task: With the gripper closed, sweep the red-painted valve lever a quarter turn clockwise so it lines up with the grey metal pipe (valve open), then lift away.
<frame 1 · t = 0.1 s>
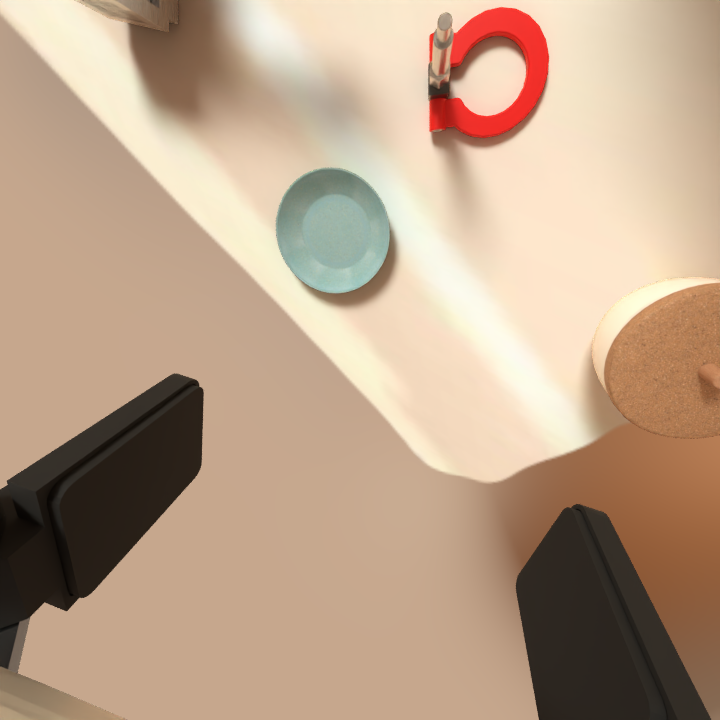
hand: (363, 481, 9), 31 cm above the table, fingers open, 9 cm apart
saucer: (337, 232, 38), on the table
lidded bowl: (644, 329, 35), on the table
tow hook: (484, 80, 30), on the table
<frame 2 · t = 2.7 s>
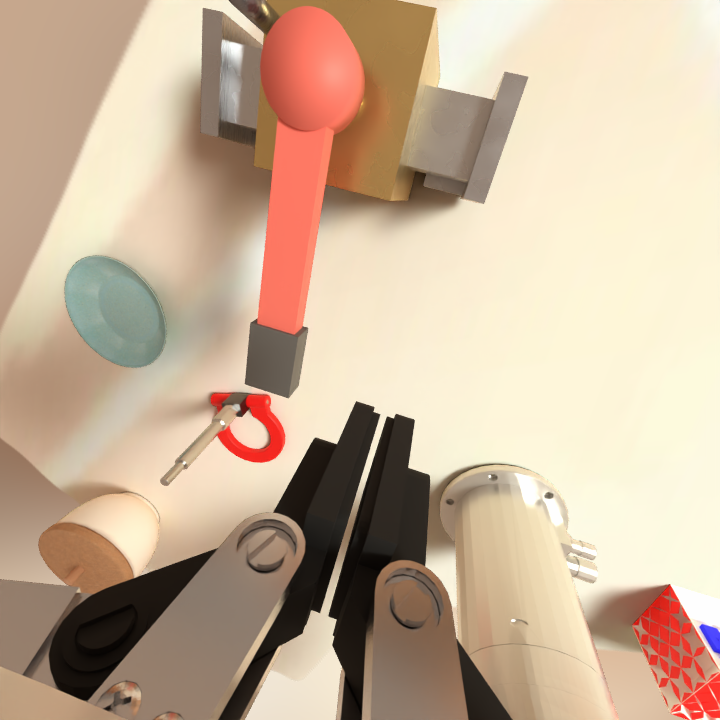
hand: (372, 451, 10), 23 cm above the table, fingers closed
white and red cube: (687, 615, 39), on the table
saucer: (132, 308, 39), on the table
lidded bowl: (139, 509, 53), on the table
lever: (293, 239, 18), point 13 cm above the table, hinge at 0.0°
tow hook: (252, 425, 42), on the table
valve body: (371, 130, 27), on the table
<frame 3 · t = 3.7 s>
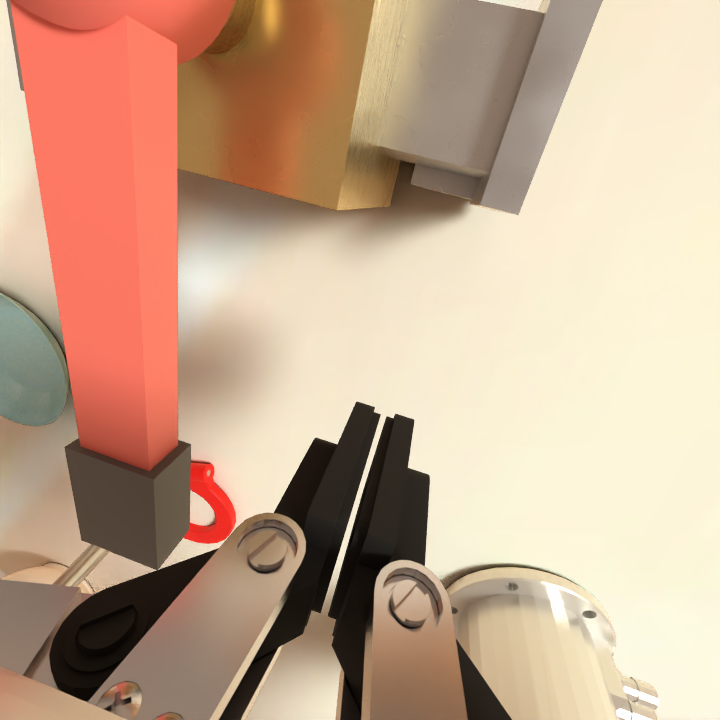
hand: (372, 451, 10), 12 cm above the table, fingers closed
saucer: (31, 348, 29), on the table
lidded bowl: (70, 582, 43), on the table
lever: (126, 291, 9), point 13 cm above the table, hinge at 0.0°
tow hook: (194, 496, 32), on the table
valve body: (331, 98, 17), on the table
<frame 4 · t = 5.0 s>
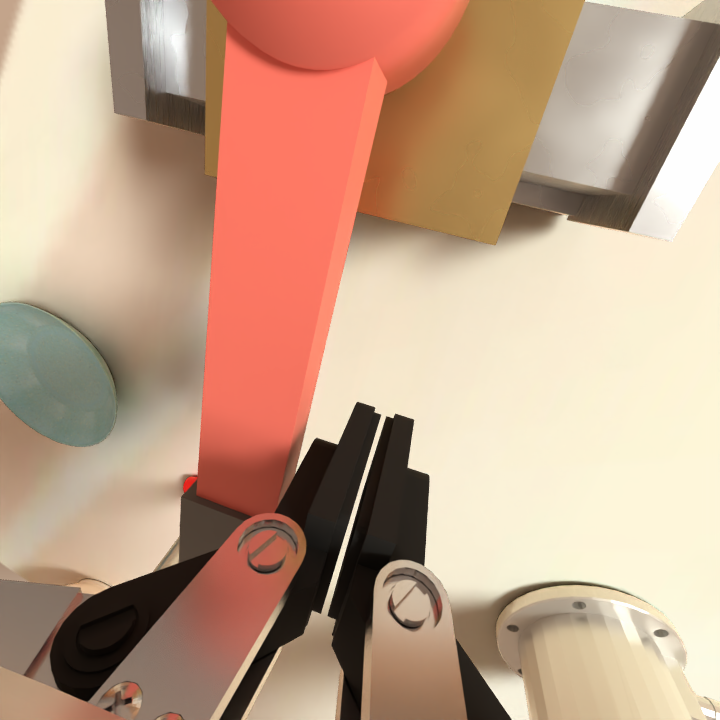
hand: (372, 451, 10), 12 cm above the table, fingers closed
saucer: (75, 366, 29), on the table
lidded bowl: (106, 597, 43), on the table
lever: (272, 339, 8), point 13 cm above the table, hinge at 2.9°, touching gripper
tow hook: (241, 514, 31), on the table
valve body: (414, 110, 17), on the table
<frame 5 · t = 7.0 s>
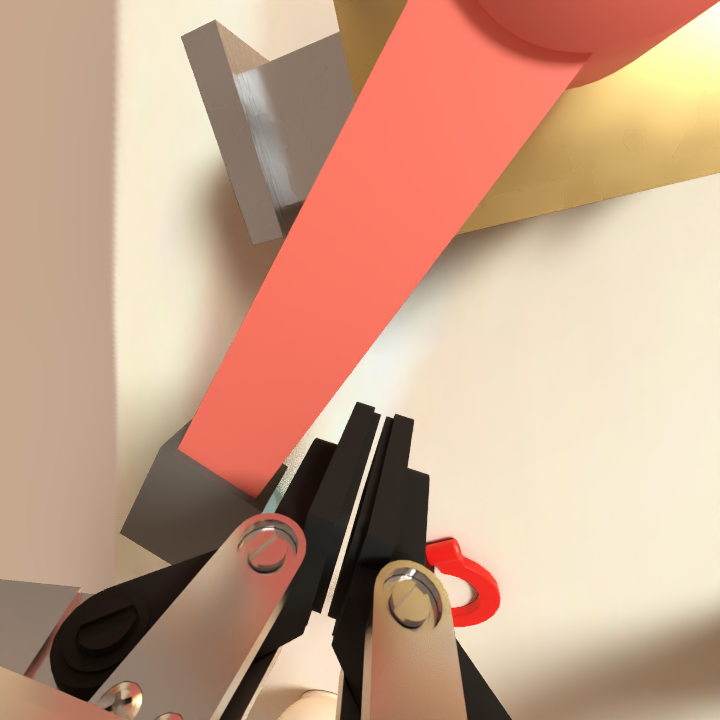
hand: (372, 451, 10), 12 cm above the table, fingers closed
lidded bowl: (331, 705, 41), on the table
lever: (324, 311, 7), point 13 cm above the table, hinge at 47.8°, touching gripper
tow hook: (441, 578, 29), on the table
valve body: (487, 105, 16), on the table
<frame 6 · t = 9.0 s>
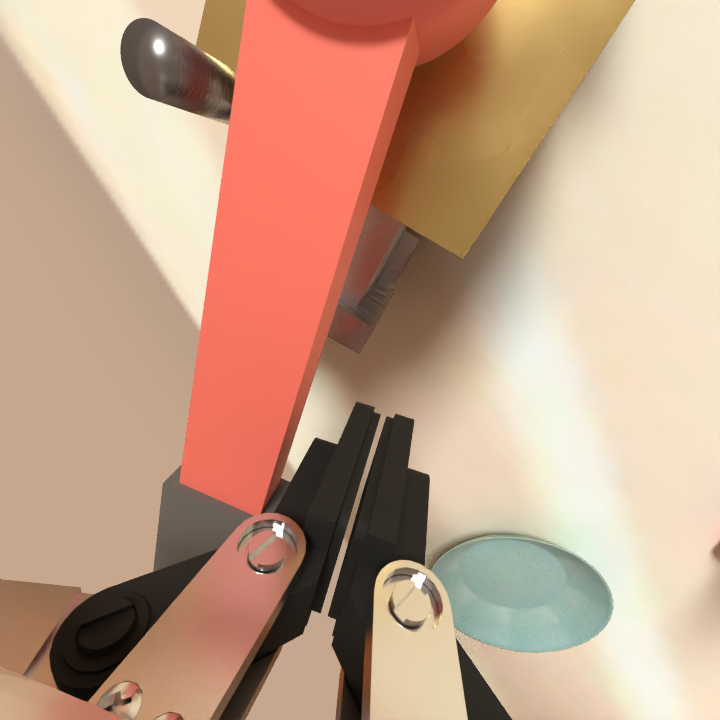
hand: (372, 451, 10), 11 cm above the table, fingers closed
saucer: (509, 567, 27), on the table
lever: (273, 322, 8), point 13 cm above the table, hinge at 81.1°
valve body: (429, 99, 16), on the table
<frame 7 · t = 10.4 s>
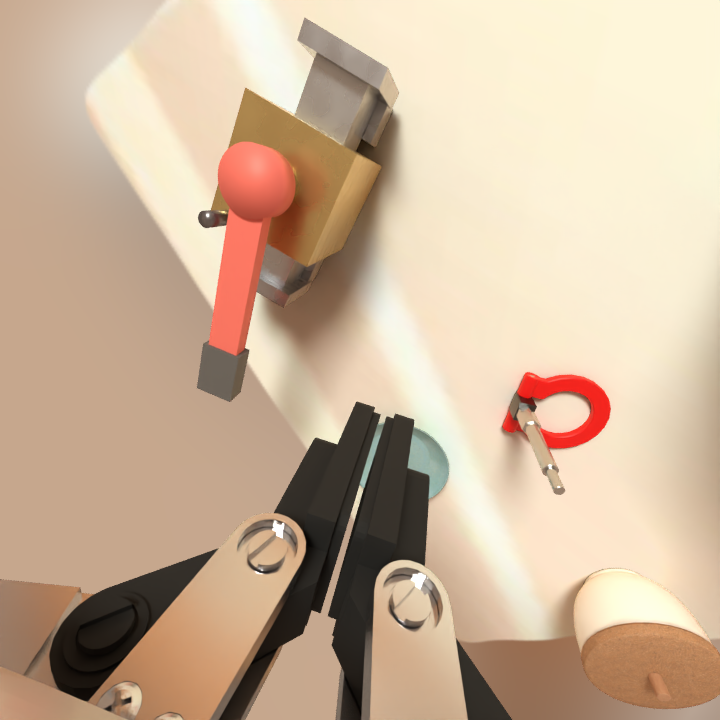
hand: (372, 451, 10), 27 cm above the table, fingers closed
saucer: (399, 452, 44), on the table
lidded bowl: (615, 586, 45), on the table
lever: (239, 286, 25), point 13 cm above the table, hinge at 81.2°
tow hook: (555, 407, 37), on the table
valve body: (323, 187, 33), on the table
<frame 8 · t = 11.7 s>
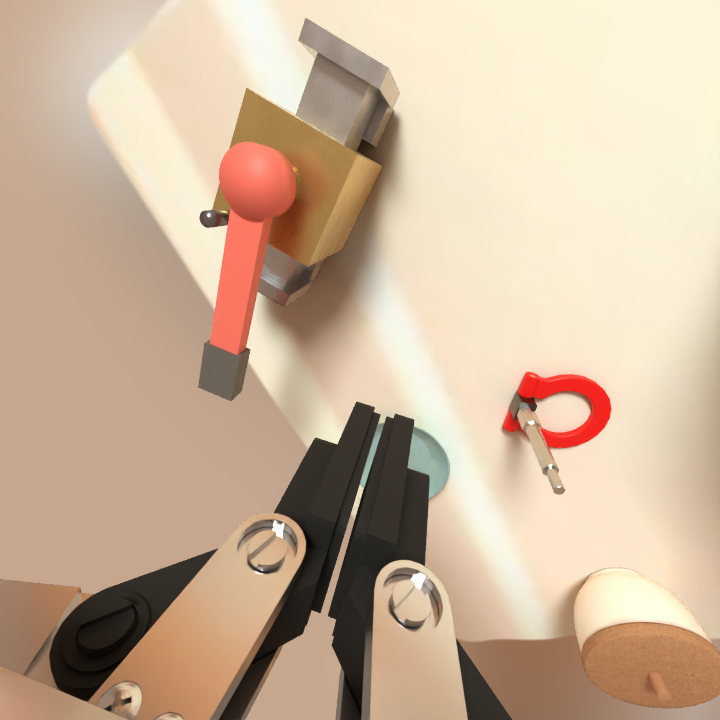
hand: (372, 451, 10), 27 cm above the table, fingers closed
saucer: (399, 452, 44), on the table
lidded bowl: (615, 585, 45), on the table
lever: (240, 286, 25), point 13 cm above the table, hinge at 81.2°
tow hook: (556, 407, 37), on the table
valve body: (324, 187, 33), on the table
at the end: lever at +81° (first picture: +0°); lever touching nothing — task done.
